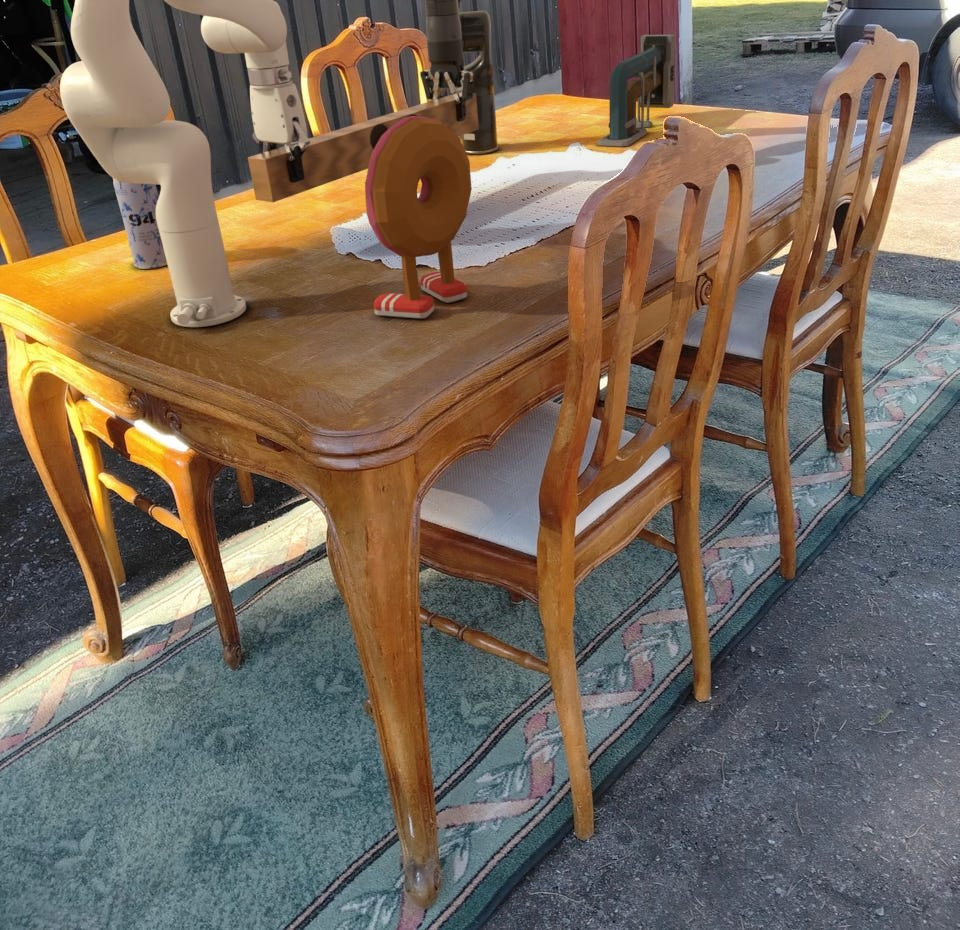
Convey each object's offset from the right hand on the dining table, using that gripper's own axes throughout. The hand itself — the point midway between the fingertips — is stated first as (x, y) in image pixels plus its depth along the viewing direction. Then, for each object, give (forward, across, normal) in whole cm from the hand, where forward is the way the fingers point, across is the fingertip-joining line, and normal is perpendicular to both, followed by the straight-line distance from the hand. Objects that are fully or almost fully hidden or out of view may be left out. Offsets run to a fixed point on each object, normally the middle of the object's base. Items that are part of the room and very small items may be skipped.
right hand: (451, 119), depth 215 cm
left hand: (+1, 0, +50) cm, 50 cm away
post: (+3, 0, +25) cm, 25 cm away
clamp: (+15, -11, -64) cm, 67 cm away
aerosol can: (+15, +24, +67) cm, 73 cm away
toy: (+16, -40, +60) cm, 74 cm away
